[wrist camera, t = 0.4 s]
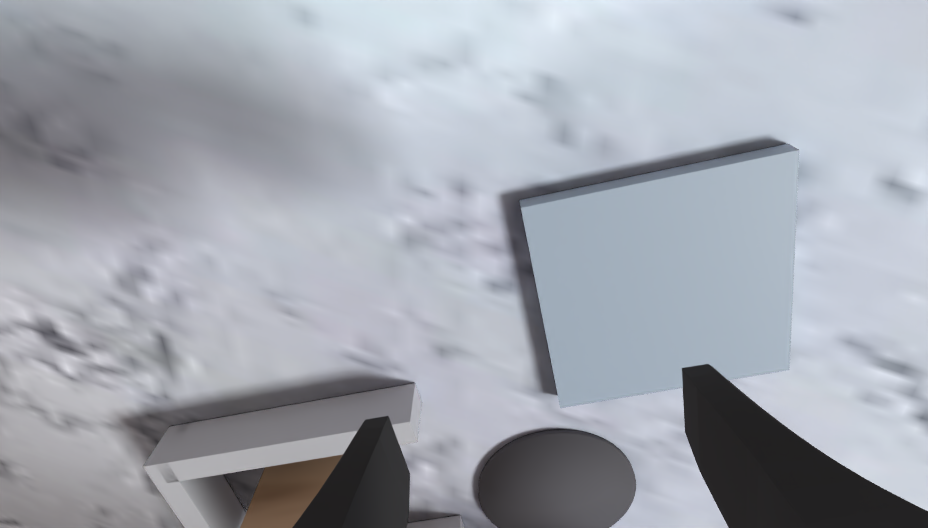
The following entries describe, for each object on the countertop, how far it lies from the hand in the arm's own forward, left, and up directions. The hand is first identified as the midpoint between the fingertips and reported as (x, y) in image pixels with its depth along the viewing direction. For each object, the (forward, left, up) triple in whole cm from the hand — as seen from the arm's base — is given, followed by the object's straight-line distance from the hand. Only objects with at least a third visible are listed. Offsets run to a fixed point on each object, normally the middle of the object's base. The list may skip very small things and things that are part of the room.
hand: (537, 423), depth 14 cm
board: (-3, -6, -10) cm, 12 cm away
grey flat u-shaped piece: (-11, +11, -10) cm, 19 cm away
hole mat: (-14, 0, -10) cm, 17 cm away
